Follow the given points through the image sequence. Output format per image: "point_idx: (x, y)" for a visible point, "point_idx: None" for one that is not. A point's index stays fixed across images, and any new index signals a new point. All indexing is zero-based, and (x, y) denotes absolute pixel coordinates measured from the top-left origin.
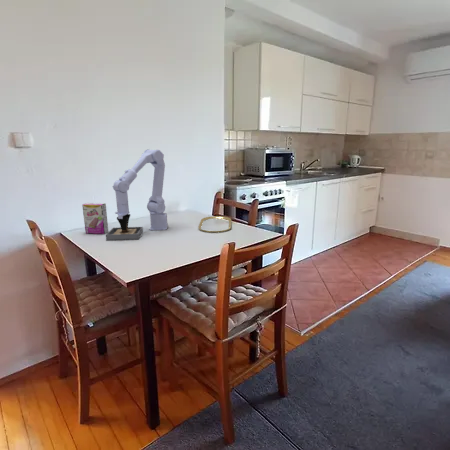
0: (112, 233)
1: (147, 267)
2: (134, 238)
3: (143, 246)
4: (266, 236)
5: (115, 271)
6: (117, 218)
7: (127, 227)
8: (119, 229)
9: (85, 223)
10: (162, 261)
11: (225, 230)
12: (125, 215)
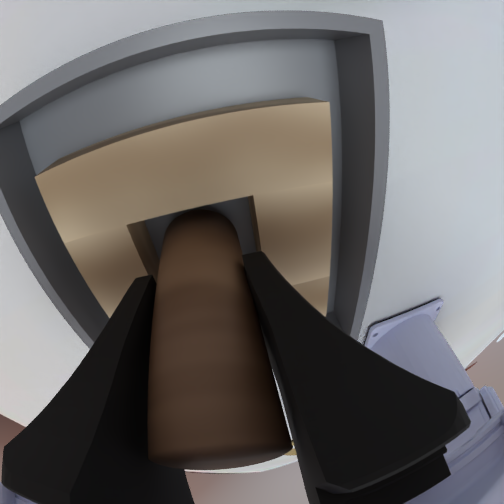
0: (242, 41)
1: None
2: None
3: (58, 384)
4: (252, 470)
5: None
6: (7, 472)
7: None
8: (320, 133)
9: None
10: (18, 415)
11: (292, 453)
12: (314, 501)
